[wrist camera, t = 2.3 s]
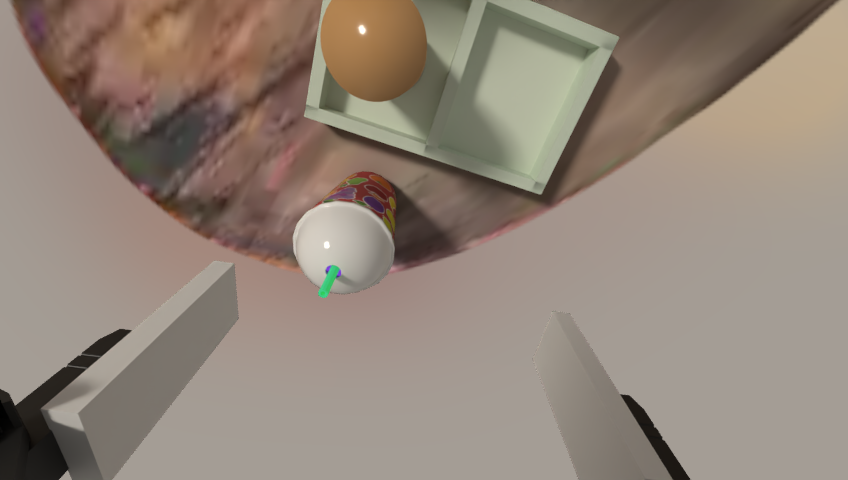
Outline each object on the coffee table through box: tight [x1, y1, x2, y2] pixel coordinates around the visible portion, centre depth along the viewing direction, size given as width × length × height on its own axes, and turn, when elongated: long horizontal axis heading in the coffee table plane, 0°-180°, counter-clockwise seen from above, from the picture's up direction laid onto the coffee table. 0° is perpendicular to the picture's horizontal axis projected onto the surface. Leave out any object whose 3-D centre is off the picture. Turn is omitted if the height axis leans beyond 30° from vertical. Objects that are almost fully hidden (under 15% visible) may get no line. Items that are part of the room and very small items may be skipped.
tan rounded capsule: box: [320, 0, 427, 102], centre depth 27 cm, size 6×6×14 cm
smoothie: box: [293, 172, 397, 298], centre depth 31 cm, size 8×8×20 cm
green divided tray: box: [304, 0, 619, 195], centre depth 33 cm, size 26×15×4 cm, turn 72°
